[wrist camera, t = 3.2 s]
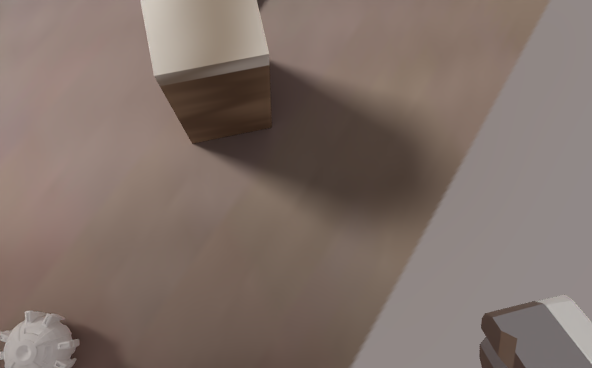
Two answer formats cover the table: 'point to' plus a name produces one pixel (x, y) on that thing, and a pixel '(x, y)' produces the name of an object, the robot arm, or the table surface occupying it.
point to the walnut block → (211, 64)
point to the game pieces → (38, 343)
